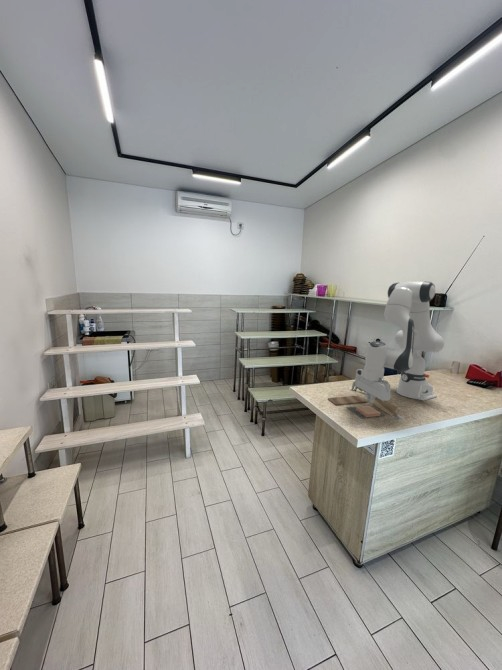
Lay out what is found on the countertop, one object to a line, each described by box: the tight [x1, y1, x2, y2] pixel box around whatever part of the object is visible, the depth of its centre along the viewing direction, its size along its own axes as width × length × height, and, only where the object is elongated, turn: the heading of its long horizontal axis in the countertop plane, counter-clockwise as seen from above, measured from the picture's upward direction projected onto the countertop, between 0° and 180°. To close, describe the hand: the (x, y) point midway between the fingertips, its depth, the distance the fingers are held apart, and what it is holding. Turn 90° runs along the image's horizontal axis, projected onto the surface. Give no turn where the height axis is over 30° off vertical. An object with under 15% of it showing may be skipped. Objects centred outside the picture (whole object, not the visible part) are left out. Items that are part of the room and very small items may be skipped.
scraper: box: [373, 397, 405, 420], centre depth 130 cm, size 5×16×5 cm, turn 16°
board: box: [327, 395, 369, 407], centre depth 141 cm, size 20×8×1 cm, turn 106°
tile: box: [355, 405, 382, 418], centre depth 128 cm, size 8×2×8 cm
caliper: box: [351, 381, 371, 396], centre depth 151 cm, size 20×1×6 cm, turn 33°
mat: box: [346, 405, 386, 420], centre depth 129 cm, size 14×12×1 cm
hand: (369, 401), depth 126 cm, fingers closed
